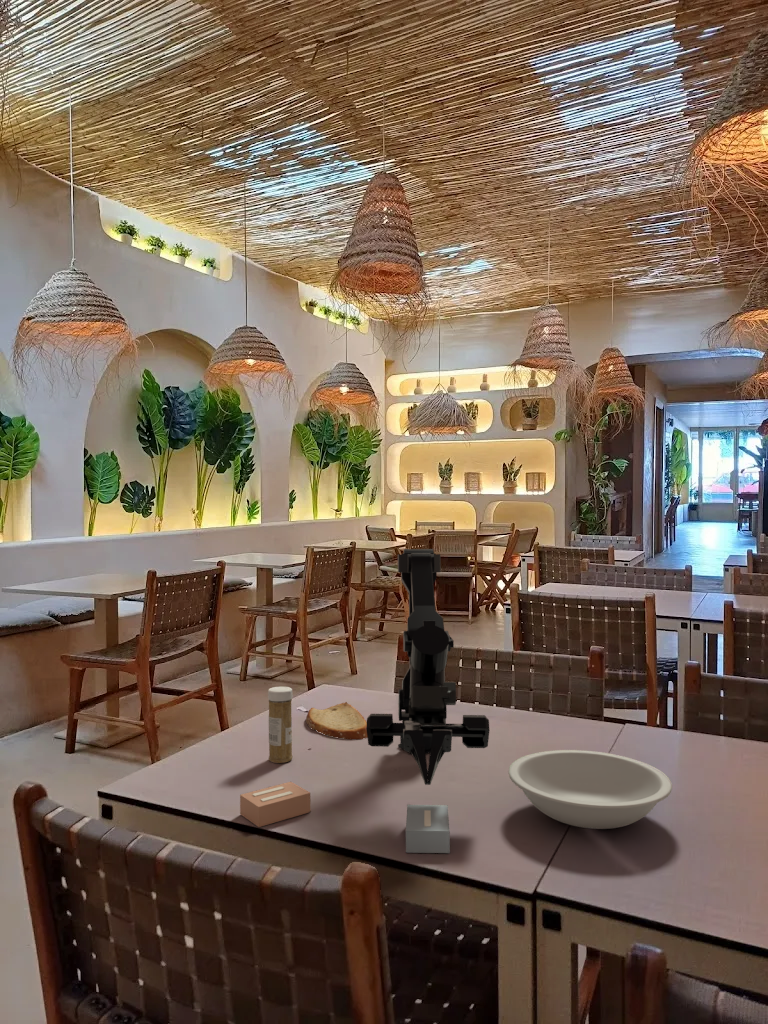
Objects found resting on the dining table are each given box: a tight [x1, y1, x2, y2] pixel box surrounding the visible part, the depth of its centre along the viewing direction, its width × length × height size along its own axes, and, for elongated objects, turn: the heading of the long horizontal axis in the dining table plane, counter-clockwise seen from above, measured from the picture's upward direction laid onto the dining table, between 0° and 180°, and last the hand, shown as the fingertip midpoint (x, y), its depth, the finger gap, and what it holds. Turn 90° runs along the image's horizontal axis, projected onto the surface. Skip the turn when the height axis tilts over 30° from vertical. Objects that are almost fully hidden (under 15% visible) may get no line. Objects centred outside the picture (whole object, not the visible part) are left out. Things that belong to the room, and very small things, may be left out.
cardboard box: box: [239, 781, 312, 828], centre depth 115 cm, size 3×6×9 cm
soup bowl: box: [507, 749, 673, 830], centre depth 113 cm, size 24×24×7 cm
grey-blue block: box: [405, 804, 451, 854], centre depth 106 cm, size 3×6×9 cm
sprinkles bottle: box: [267, 686, 293, 764], centre depth 140 cm, size 5×5×14 cm
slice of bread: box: [305, 701, 368, 740], centre depth 162 cm, size 18×18×4 cm
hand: (427, 783), depth 109 cm, fingers closed
